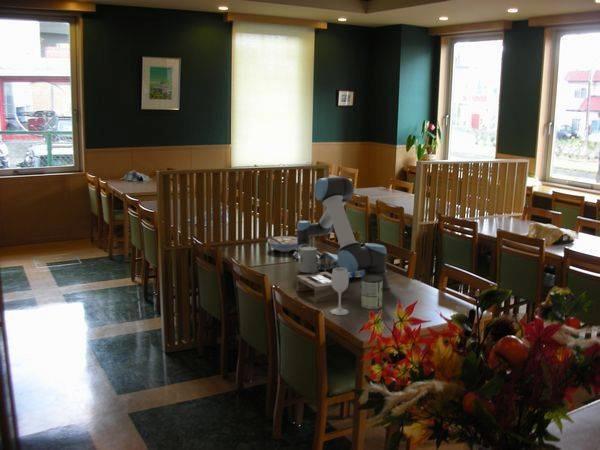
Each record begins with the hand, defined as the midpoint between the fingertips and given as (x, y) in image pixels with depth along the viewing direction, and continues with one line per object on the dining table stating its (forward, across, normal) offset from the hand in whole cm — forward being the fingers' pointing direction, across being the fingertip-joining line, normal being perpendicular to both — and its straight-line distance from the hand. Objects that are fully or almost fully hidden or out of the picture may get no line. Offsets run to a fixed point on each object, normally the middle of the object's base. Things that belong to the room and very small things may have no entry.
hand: (309, 260), depth 341 cm
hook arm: (+19, -4, -7) cm, 20 cm away
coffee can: (+39, -26, -14) cm, 49 cm away
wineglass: (+47, -9, -14) cm, 50 cm away
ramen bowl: (-76, +8, -12) cm, 78 cm away
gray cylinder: (-4, 0, -7) cm, 8 cm away
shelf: (+18, -4, -13) cm, 23 cm away
